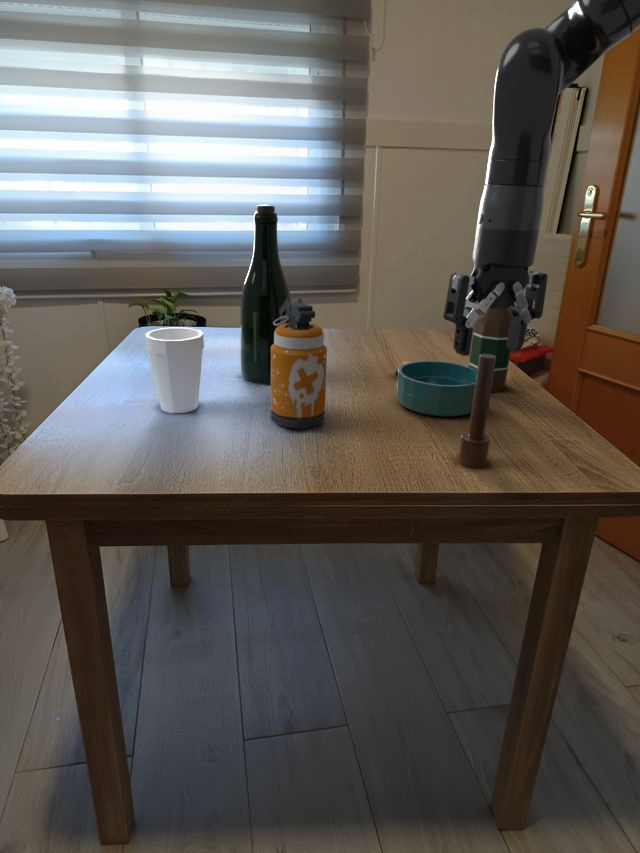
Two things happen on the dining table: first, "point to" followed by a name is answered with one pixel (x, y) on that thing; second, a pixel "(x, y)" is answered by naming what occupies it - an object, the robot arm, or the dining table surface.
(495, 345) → the beer bottle
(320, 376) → the canister
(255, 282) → the green wine bottle
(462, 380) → the bowl
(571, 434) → the dining table surface
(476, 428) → the muddler
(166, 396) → the foam cup
